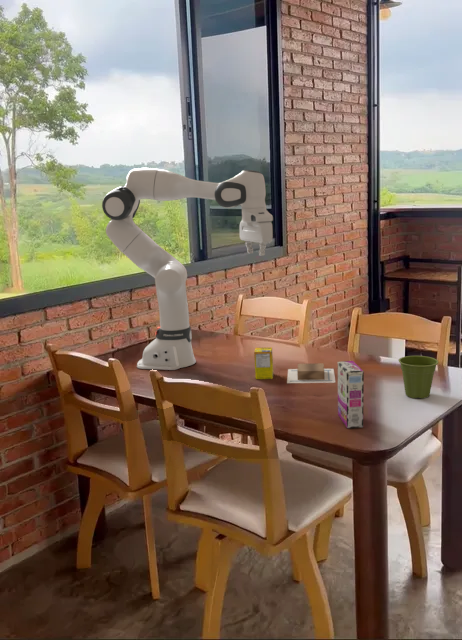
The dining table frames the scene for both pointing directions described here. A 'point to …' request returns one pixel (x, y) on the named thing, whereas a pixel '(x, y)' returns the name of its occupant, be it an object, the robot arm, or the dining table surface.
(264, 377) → the supplement box
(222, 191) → the robot arm
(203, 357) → the dining table surface
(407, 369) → the plant pot
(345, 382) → the candy bar box
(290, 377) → the blueprint board
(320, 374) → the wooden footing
